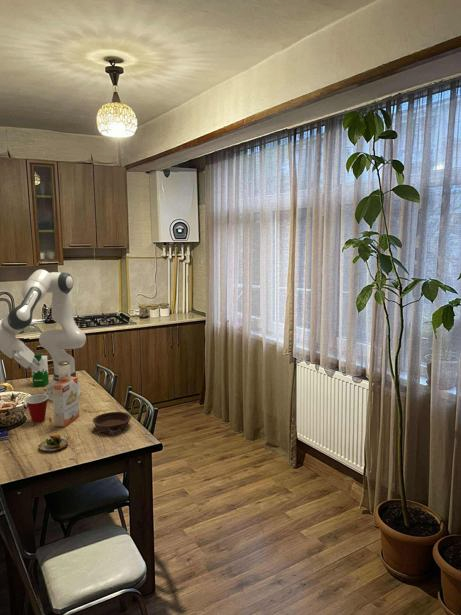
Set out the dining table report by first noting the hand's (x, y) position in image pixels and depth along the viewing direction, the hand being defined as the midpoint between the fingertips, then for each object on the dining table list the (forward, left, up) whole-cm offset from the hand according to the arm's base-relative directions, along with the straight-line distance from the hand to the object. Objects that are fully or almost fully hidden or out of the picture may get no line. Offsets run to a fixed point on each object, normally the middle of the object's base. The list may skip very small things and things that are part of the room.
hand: (39, 367), depth 218 cm
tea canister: (+6, +10, -8) cm, 14 cm away
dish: (+29, +19, -29) cm, 46 cm away
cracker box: (+6, +10, -29) cm, 31 cm away
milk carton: (-61, +30, -29) cm, 74 cm away
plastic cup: (-6, +1, -29) cm, 29 cm away
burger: (+28, -9, -29) cm, 41 cm away
